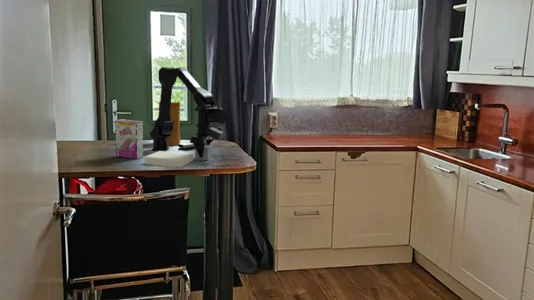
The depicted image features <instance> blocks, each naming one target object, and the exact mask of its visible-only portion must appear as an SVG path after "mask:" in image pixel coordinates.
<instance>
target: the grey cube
mask: <svg viewBox="0 0 534 300" xmlns="http://www.w3.org/2000/svg"><path fill="white" fill-rule="evenodd" d="M211 158H212V159H213V144H210V145H205V146H204V152H203V157H202V158H200V156H199V154H198V152H197V150H196V148H195V147H194V160H195V161H205V160H207V161H210V160H212V159H211ZM207 161H206V162H207Z"/></svg>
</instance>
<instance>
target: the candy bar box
mask: <svg viewBox="0 0 534 300" xmlns="http://www.w3.org/2000/svg"><path fill="white" fill-rule="evenodd" d="M115 157H118V158H122V159H123V158H124V159H131V160H140V159H143V158H144V122H143V121H142V120H141V121H140V120H132V119H131V120H130V119H123V118H122V119H117V120H116V119H115Z"/></svg>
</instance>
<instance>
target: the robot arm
mask: <svg viewBox="0 0 534 300" xmlns="http://www.w3.org/2000/svg"><path fill="white" fill-rule="evenodd" d="M177 79H179V80H180V81H181V82H182V83H183V85H184V86H185V87H186V88H187V90H189V92H190V93H191V94H192V100H193V101H194V103H195V104H196V107H195V108H194V109H193V111H196V112H197V123H196V124H195V125H196V126H195V127H197V132H195V135H193V136H191V137H190V138H189V143H190V144H192V145H193V146H194V149H195V148H196V150H197V152H198V154H199V156H200V158H202V157H203V152H204V146H205V145H212V144H211V143H213V142H214V141H216V140H218V141H220V140H221V139H222V138H223V136H224V130H223V129H224V128H223V127H221V126H219V127H217V128H216V127H214V126H213V124H217V125H223V124H225V122H226V119H227V114H226V113H225V111H224V109H223V108H221V107H218V105H217V103H216V101H215V99H214V96H213V94H212V93H211V92H209V91H208V90H206V89H204V88H202V86H200V85H199V83H198V82H197V80H195V78H194V77H193V76H192V75H191V74H190V72H189V71H188V69H187V68H185V67H176V68H175V67H166V66H165V67H163V66H162V67H160V68H159V70H158V82H159V84H160V85H161V88H160V91H161V92H160V99H159V101H160V111H159V110H158V116H159V117H157V119H156V120H155V122H154V127H153V128H152V130H151V131H150V132H149V136H150V137H149V138H152V149H151V151H155V152H158V151H168V150H169V149H170V146H169V140H168V137H170V136H171V132H172V130H173V124H174V121H171V119H170V108H171V102H172V95H173V86H175V84H176V82H177Z"/></svg>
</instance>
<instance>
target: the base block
mask: <svg viewBox="0 0 534 300" xmlns="http://www.w3.org/2000/svg"><path fill="white" fill-rule="evenodd" d="M189 162H190V163H192V162H194V153H188V152H176V151H168V150H166V151H155V152H153V153H151V154H149V155H145V156H144V165H154V166H164V167H172V168H174V167H175V168H183V167H184V166H186V165H188V164H189Z"/></svg>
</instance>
